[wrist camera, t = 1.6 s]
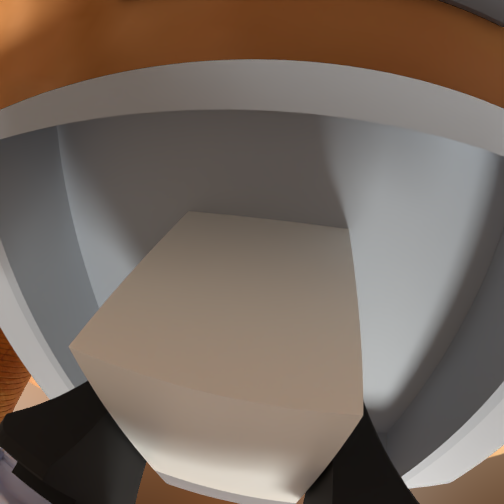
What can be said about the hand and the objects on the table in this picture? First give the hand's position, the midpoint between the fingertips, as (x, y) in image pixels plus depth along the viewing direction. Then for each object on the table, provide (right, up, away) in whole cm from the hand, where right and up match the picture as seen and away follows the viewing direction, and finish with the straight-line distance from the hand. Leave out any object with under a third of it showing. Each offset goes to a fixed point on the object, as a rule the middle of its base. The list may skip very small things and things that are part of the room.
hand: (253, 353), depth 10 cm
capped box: (0, +1, +1) cm, 1 cm away
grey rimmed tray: (0, +1, +1) cm, 2 cm away
